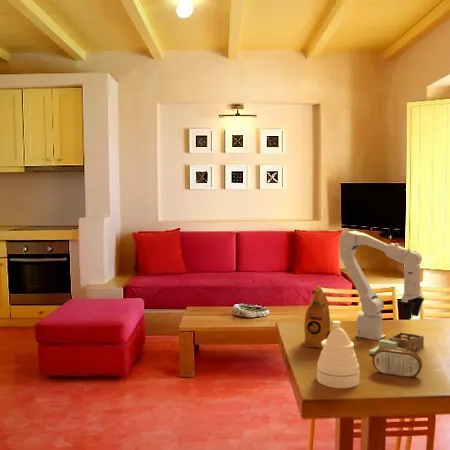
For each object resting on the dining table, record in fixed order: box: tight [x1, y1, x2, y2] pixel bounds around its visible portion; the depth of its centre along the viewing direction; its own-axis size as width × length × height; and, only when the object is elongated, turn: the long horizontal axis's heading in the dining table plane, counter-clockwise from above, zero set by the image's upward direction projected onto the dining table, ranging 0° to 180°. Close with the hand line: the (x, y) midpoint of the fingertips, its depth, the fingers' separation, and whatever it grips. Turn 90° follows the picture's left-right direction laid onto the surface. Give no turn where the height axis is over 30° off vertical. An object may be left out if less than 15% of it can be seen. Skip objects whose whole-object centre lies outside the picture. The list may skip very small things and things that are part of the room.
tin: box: [371, 347, 423, 379], centre depth 160 cm, size 15×3×8 cm, turn 64°
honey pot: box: [316, 320, 360, 389], centre depth 156 cm, size 13×13×18 cm
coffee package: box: [303, 285, 331, 349], centre depth 194 cm, size 10×12×22 cm
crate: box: [389, 331, 425, 353], centre depth 189 cm, size 9×10×4 cm
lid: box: [368, 338, 407, 355], centre depth 182 cm, size 10×11×5 cm
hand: (411, 317), depth 195 cm, fingers open, 7 cm apart
